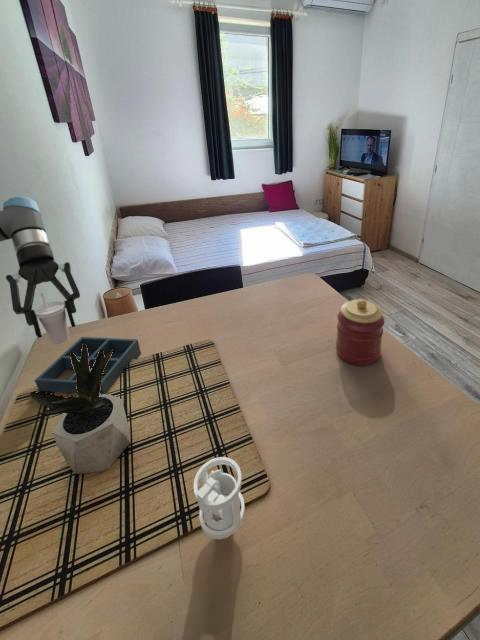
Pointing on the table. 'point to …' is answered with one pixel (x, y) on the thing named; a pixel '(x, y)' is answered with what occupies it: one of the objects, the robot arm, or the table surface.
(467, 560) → the table surface
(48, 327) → the smoothie
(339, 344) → the kitchen canister
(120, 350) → the divided tray
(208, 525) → the white cylindrical holder
